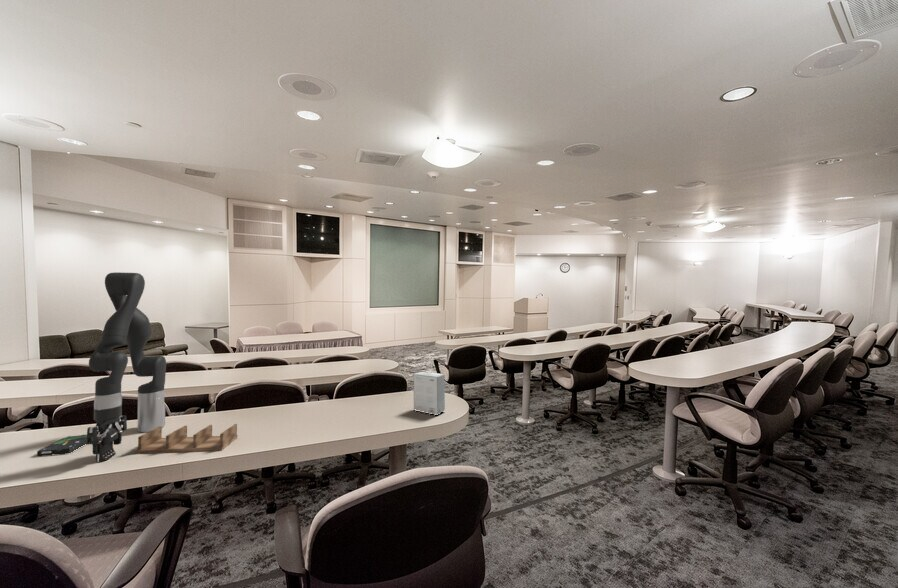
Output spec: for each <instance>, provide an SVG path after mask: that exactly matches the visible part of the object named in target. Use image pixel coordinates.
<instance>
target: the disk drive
mask: <svg viewBox="0 0 898 588" xmlns="http://www.w3.org/2000/svg"><path fill="white" fill-rule="evenodd" d="M92 440H93V438H91V441H92ZM86 441H87V434H81V435H73V436H72V435H68V436H67V437H63V438H61V439H59V440H57V441H55V442H53V443H50V444H49V445H47V446H45V447H43V448H40V449H39V450H37V452H36V456H39V457H43V456H42V455H50V456H53V455H52V454H60V455H66V454H65V453H70V454H72V453H74V452H75V451H74V450H76V449H78V448H79V447H81V446H83V445H85V444H86ZM86 445H87V444H86ZM86 445H85V446H86ZM83 447H84V446H83ZM81 448H82V447H81ZM79 449H80V448H79ZM79 449H78V450H79ZM73 451H74V452H73ZM76 451H77V450H76ZM71 452H72V453H71Z"/></svg>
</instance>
